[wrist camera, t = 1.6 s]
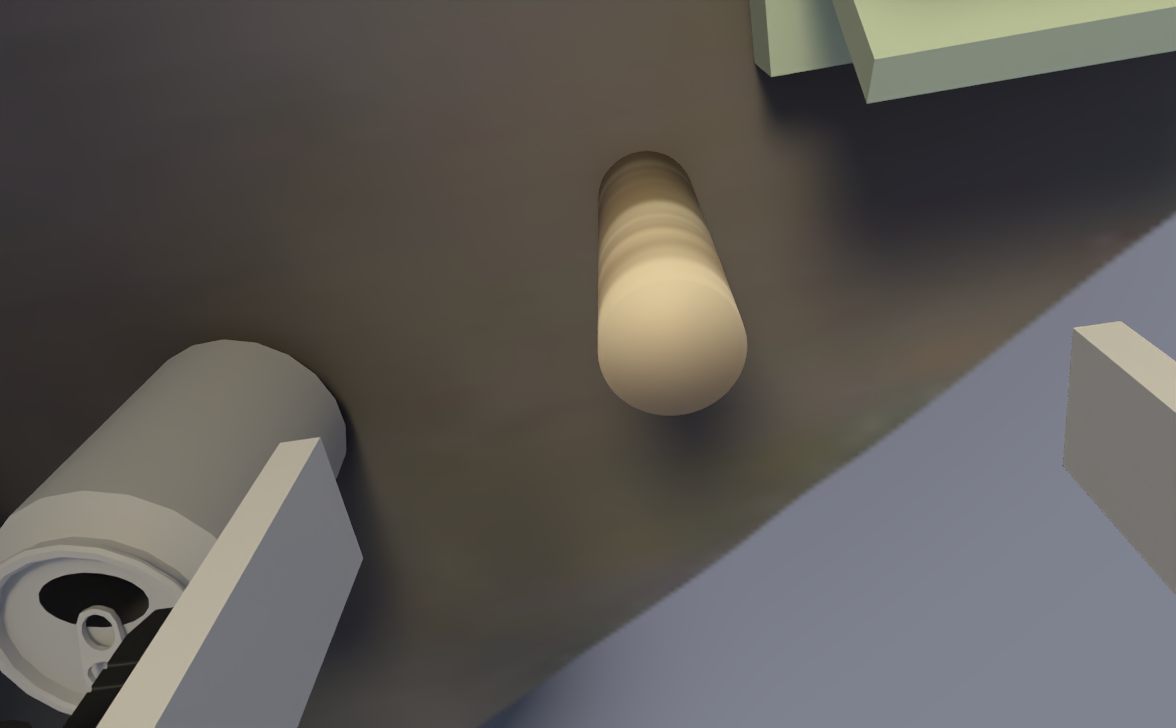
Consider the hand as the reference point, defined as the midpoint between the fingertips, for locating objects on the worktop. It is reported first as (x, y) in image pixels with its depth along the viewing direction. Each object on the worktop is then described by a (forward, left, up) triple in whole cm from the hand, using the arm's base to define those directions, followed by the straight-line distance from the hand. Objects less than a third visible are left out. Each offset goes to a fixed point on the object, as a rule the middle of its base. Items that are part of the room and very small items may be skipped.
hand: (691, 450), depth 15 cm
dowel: (0, 0, -16) cm, 16 cm away
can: (+6, -16, -16) cm, 23 cm away
